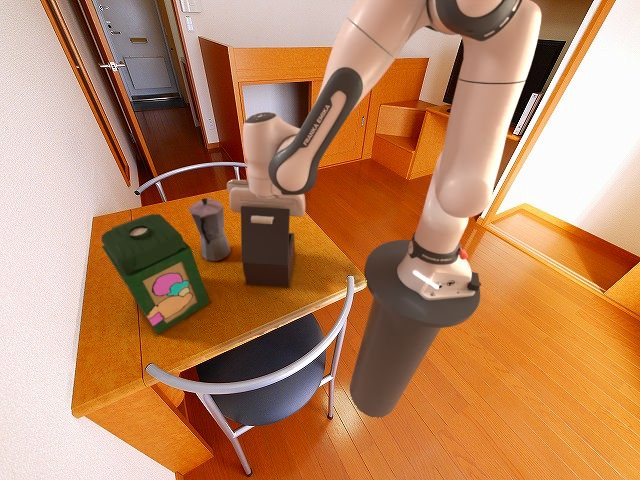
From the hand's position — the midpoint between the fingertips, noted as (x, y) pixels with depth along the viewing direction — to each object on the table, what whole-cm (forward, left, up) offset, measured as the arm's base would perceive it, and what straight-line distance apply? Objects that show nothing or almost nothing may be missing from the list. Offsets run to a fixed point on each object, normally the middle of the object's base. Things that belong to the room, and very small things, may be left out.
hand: (269, 225), depth 79 cm
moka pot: (+19, -2, -15) cm, 24 cm away
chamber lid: (0, +6, +1) cm, 6 cm away
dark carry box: (0, +3, -15) cm, 15 cm away
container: (+24, +18, -15) cm, 33 cm away
